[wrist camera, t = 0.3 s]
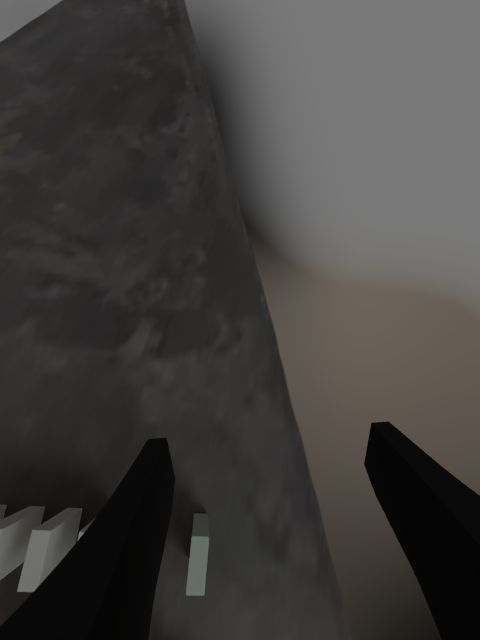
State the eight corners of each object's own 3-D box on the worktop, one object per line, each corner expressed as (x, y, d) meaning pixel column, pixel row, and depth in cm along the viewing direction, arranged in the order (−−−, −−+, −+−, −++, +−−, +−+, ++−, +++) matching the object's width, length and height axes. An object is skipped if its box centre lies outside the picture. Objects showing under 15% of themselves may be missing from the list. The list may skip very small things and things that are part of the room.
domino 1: (33, 554, 32) (-14, 591, 25) (17, 553, 32) (-35, 590, 25) (45, 506, 34) (3, 528, 27) (30, 505, 33) (-17, 528, 26)
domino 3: (203, 559, 34) (204, 595, 27) (189, 558, 34) (185, 595, 27) (208, 513, 35) (209, 536, 28) (194, 513, 35) (191, 536, 28)
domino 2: (72, 555, 33) (37, 592, 25) (57, 554, 32) (16, 591, 25) (82, 508, 34) (51, 530, 27) (67, 507, 34) (32, 530, 27)
